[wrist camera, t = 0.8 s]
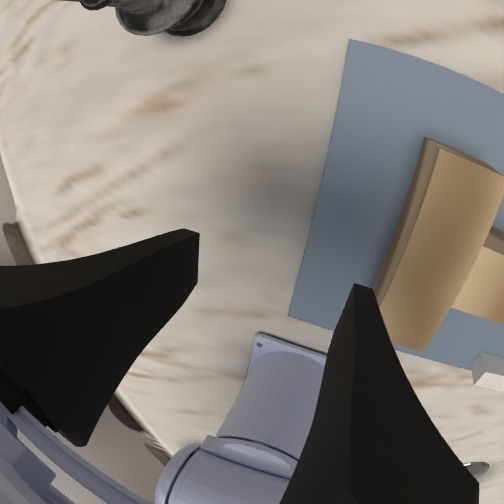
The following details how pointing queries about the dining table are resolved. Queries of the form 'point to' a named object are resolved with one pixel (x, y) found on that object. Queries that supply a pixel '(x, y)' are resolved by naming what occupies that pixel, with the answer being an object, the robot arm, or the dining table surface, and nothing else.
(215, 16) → the salt shaker
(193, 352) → the dining table surface
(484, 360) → the dock
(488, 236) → the t block
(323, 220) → the board
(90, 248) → the dining table surface
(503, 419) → the dining table surface
